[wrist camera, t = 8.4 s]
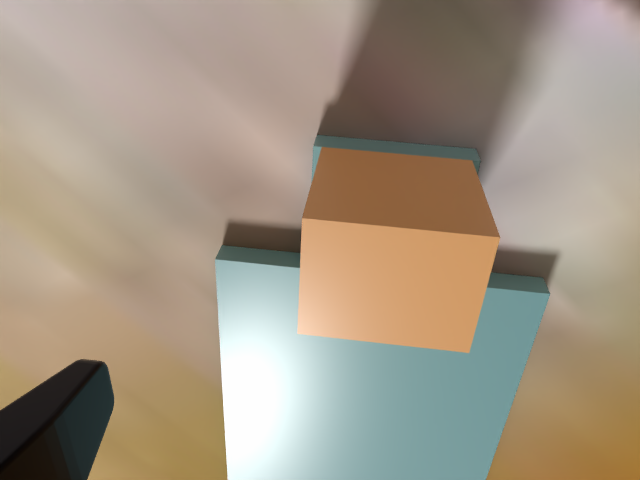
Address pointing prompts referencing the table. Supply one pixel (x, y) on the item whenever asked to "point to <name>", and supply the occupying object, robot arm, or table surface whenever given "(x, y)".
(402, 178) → the lid
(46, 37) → the table surface
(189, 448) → the table surface
